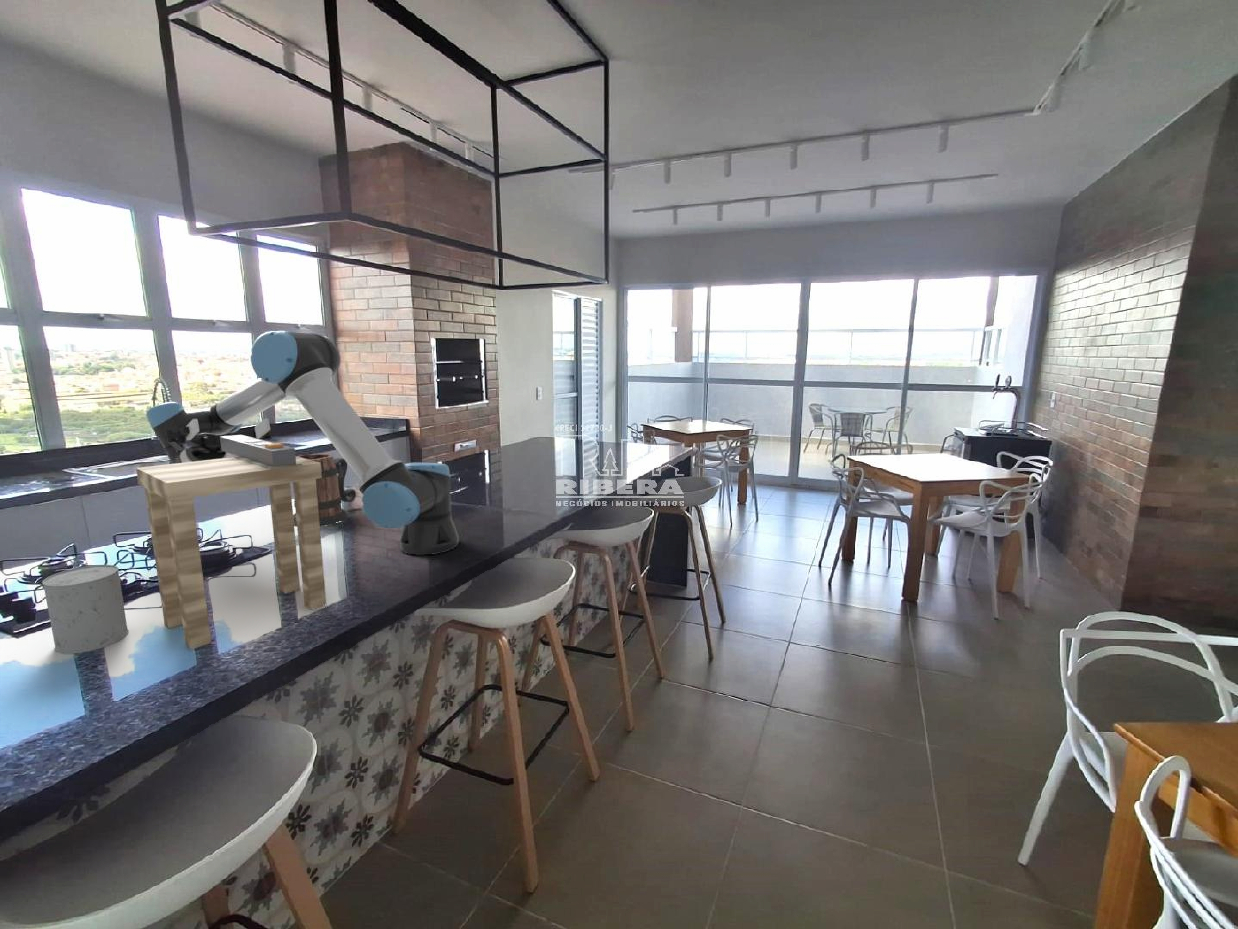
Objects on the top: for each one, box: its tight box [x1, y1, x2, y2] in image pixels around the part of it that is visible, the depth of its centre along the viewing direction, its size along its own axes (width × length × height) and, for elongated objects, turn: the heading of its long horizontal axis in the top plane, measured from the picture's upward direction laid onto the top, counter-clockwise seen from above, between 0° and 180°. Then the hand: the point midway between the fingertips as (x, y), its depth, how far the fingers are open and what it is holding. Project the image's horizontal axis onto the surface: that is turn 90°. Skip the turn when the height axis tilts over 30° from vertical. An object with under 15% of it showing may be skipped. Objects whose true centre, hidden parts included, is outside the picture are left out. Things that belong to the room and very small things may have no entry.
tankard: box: [293, 453, 357, 528], centre depth 173 cm, size 24×17×20 cm
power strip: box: [220, 435, 297, 467], centre depth 110 cm, size 26×4×4 cm, turn 53°
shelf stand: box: [135, 455, 327, 650], centre depth 106 cm, size 18×24×30 cm
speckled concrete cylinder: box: [41, 564, 129, 655], centre depth 97 cm, size 10×10×12 cm
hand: (233, 424), depth 121 cm, fingers open, 13 cm apart
